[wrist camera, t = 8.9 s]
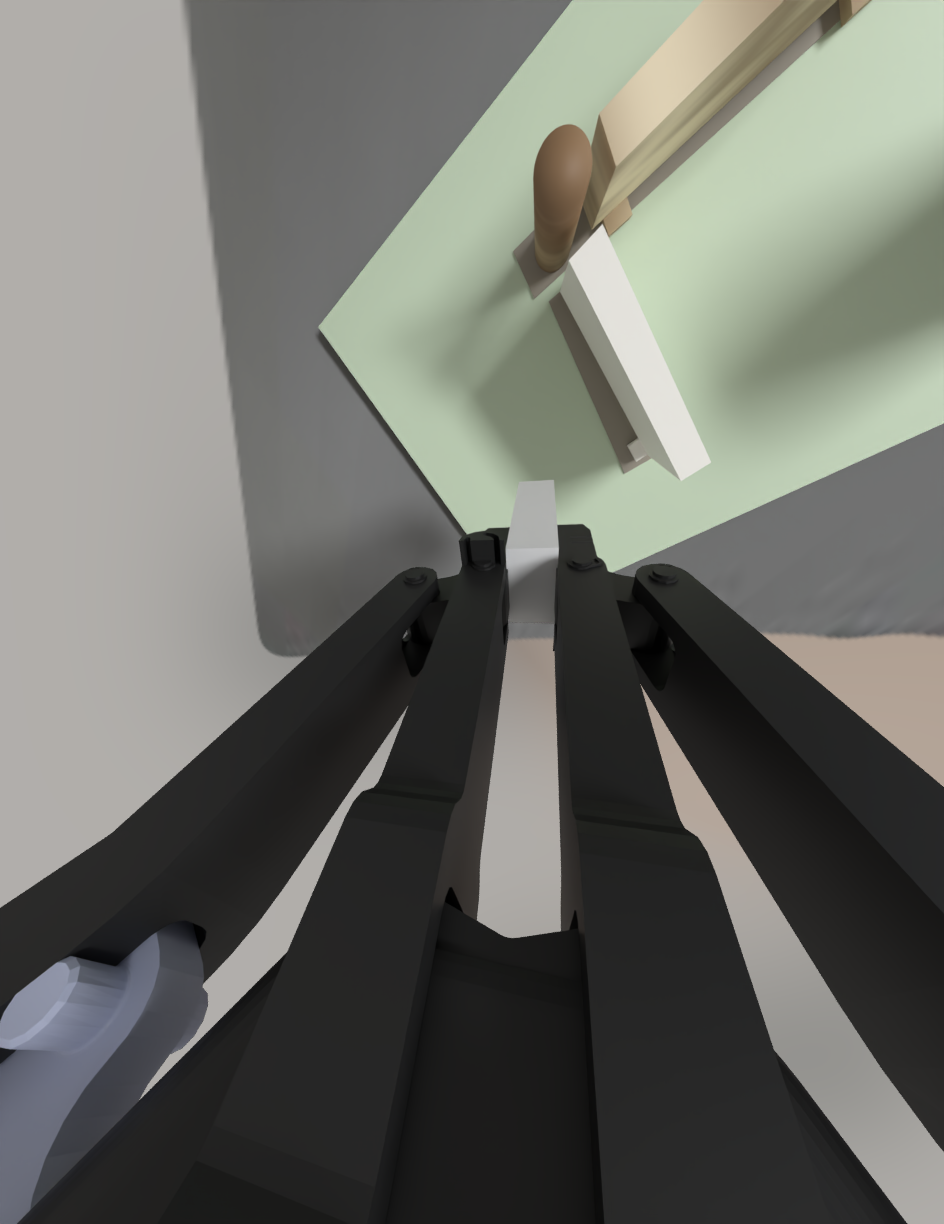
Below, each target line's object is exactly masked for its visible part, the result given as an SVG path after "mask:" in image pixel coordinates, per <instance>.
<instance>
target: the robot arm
mask: <svg viewBox="0 0 944 1224" xmlns="http://www.w3.org/2000/svg"><path fill="white" fill-rule="evenodd" d="M459 545H460V552H461V560H462V568H461V570H460V573H459V574H458V575H455V576H451V577H447V578H441V579H437V574H436V572H435V571H434V570H433V569H430V568H426V567H415V568H410V569H409V570H406V571H403V572H402V573H400V574H399V575H397V576H396V577H395V578H394V579H393V580H392V581H390V582H389V583H388V584H387V585H386V586H385V587H384V588H383V589H382V590H380V591H379V592H378V593H377V594H376V595H375V596H374V597H373V598H372V599H371V600H369V601H368V602H367V603H366V604H365V605H364V606H363V607H362V608H361V609H359V610H358V611H357V612H356V613H355V614H354V615H353V616H352V617H351V618H349V619H348V620H347V621H346V622H345V623H344V624H343V625H342V626H341V627H340V628H338V629H337V630H336V631H335V632H334V633H333V634H332V635H331V636H330V637H328V638H327V639H326V640H325V641H324V642H323V643H322V644H321V645H320V646H318V647H317V648H316V649H315V650H314V651H313V652H312V653H311V654H310V655H309V656H307V657H306V658H305V659H304V660H303V661H302V662H301V663H300V664H299V665H297V666H296V667H295V668H294V669H293V670H292V671H291V672H290V673H289V674H287V675H286V676H285V677H284V678H283V679H282V680H281V681H280V682H279V683H278V684H276V685H275V686H274V687H273V688H272V689H271V690H270V691H269V692H268V693H267V694H265V695H264V696H263V697H262V698H261V699H260V700H259V701H258V702H257V703H255V704H254V705H253V706H252V707H251V708H250V709H249V710H248V711H247V712H246V713H244V714H243V715H242V716H241V717H240V718H239V719H238V720H237V721H235V723H233V724H232V725H231V726H230V727H229V728H228V729H227V730H226V731H224V732H223V733H222V734H221V735H220V736H219V737H218V738H217V739H216V740H214V741H213V742H212V743H211V744H210V745H209V746H208V747H207V748H206V749H204V750H203V751H202V752H201V753H200V754H199V755H198V756H197V757H196V758H194V759H193V760H192V761H191V762H190V763H189V764H188V765H187V766H186V767H184V768H183V770H181V771H180V772H179V773H178V774H177V775H176V776H175V777H174V778H172V779H171V780H170V781H169V782H168V783H167V784H166V785H165V786H164V787H162V788H161V789H160V790H159V791H158V792H157V793H156V794H155V795H153V796H152V797H151V798H150V799H149V800H148V801H147V802H146V803H145V804H144V805H143V806H141V807H140V808H139V809H138V810H137V811H136V812H135V813H134V814H132V815H131V816H130V817H129V818H128V819H127V820H126V821H125V822H124V823H123V824H121V825H120V826H119V827H118V828H117V829H116V830H115V831H114V832H113V833H111V834H110V835H108V836H107V837H105V838H104V839H102V840H101V841H100V842H98V843H96V844H95V845H94V846H92V847H91V848H89V849H88V850H86V851H85V852H83V853H82V854H80V855H79V856H77V857H76V858H74V859H73V860H71V861H70V862H68V863H67V864H65V865H64V866H62V867H61V868H59V869H58V870H56V871H55V872H53V873H52V874H50V875H49V876H47V877H46V878H44V879H43V880H41V881H40V882H38V883H37V884H35V885H34V886H32V887H31V888H29V889H28V890H26V891H25V892H23V893H22V894H20V895H19V896H17V897H16V898H14V899H13V900H11V901H10V902H8V903H7V904H5V905H4V906H3V907H1V908H0V1224H907V1223H906V1221H905V1220H904V1219H903V1218H902V1216H901V1215H900V1214H899V1212H898V1211H897V1210H896V1208H895V1207H894V1206H893V1204H892V1203H891V1202H890V1200H889V1199H888V1198H887V1196H886V1195H885V1194H884V1192H883V1191H882V1190H881V1188H880V1187H879V1186H878V1185H877V1183H876V1182H875V1180H874V1179H873V1178H872V1177H871V1175H870V1174H869V1173H868V1171H867V1170H866V1169H865V1167H864V1166H863V1165H862V1163H861V1162H860V1161H859V1159H858V1158H857V1157H856V1155H855V1154H854V1153H853V1152H852V1150H851V1149H850V1147H849V1146H848V1145H847V1143H846V1142H845V1141H844V1140H843V1138H842V1137H841V1136H840V1134H839V1133H838V1132H837V1130H836V1129H835V1128H834V1126H833V1125H832V1124H831V1122H830V1121H829V1120H828V1118H827V1117H826V1116H825V1114H824V1113H823V1112H822V1110H821V1109H820V1108H819V1107H818V1105H817V1104H816V1103H815V1101H814V1100H813V1099H812V1097H811V1096H810V1095H809V1093H808V1092H807V1091H806V1089H805V1088H804V1087H803V1085H802V1084H801V1083H800V1081H799V1080H798V1079H797V1078H796V1076H795V1075H794V1074H793V1073H792V1071H791V1070H790V1069H789V1068H788V1066H787V1065H786V1064H785V1062H784V1061H783V1060H782V1059H781V1058H780V1057H779V1056H778V1054H777V1053H776V1052H775V1051H774V1049H773V1046H772V1043H771V1040H770V1037H769V1034H768V1031H767V1028H766V1025H765V1022H764V1018H763V1015H762V1012H761V1009H760V1006H759V1003H758V1000H757V997H756V994H755V991H754V988H753V985H752V982H751V979H750V976H749V973H748V970H747V967H746V964H745V961H744V958H743V954H742V952H741V948H740V945H739V942H738V939H737V936H736V933H735V930H734V927H733V924H732V921H731V918H730V915H729V912H728V909H727V906H726V903H725V900H724V897H723V894H722V891H721V887H720V884H719V882H718V878H717V875H716V873H715V870H714V868H713V865H712V863H711V860H710V858H709V855H708V853H707V851H706V849H705V848H704V846H703V845H702V843H701V841H700V840H699V838H698V837H697V836H695V835H694V834H692V833H691V832H689V831H688V830H686V829H685V828H684V826H683V824H682V823H681V821H680V818H679V815H678V813H677V810H676V806H675V803H674V800H673V796H672V793H671V789H670V786H669V782H668V778H667V775H666V772H665V768H664V765H663V761H662V758H661V754H660V751H659V747H658V744H657V740H656V737H655V734H654V730H653V727H652V723H651V719H650V716H649V713H648V709H647V706H646V702H645V699H644V695H643V692H642V688H641V686H642V687H643V689H644V690H645V692H646V693H647V695H648V697H649V698H650V700H651V702H652V703H653V705H654V707H655V708H656V710H657V711H658V713H659V715H660V716H661V718H662V719H663V721H664V723H665V724H666V726H667V727H668V729H669V731H670V732H671V734H672V735H673V737H674V739H675V740H676V742H677V743H678V745H679V747H680V748H681V750H682V752H683V753H684V755H685V756H686V758H687V760H688V761H689V763H690V765H691V766H692V767H693V769H694V771H695V772H696V774H697V776H698V777H699V779H700V780H701V782H702V784H703V786H704V787H705V788H706V790H707V792H708V794H709V795H710V797H711V798H712V800H713V802H714V803H715V805H716V807H717V808H718V810H719V811H720V813H721V815H722V816H723V818H724V819H725V821H726V823H727V824H728V826H729V827H730V829H731V830H732V832H733V834H734V835H735V837H736V839H737V840H738V842H739V844H740V845H741V847H742V848H743V850H744V852H745V853H746V855H747V856H748V858H749V860H750V861H751V863H752V864H753V866H754V868H755V869H756V871H757V873H758V874H759V876H760V877H761V879H762V881H763V882H764V884H765V886H766V887H767V889H768V890H769V892H770V893H771V895H772V897H773V898H774V900H775V902H776V903H777V905H778V906H779V908H780V910H781V911H782V913H783V915H784V916H785V918H786V919H787V921H788V923H789V924H790V926H791V927H792V929H793V931H794V932H795V934H796V936H797V937H798V938H799V940H800V942H801V944H802V945H803V947H804V948H805V950H806V952H807V953H808V955H809V956H810V958H811V960H812V961H813V963H814V964H815V966H816V968H817V969H818V971H819V973H820V974H821V976H822V977H823V979H824V981H825V982H826V984H827V986H828V987H829V989H830V990H831V992H832V994H833V995H834V997H835V998H836V1000H837V1002H838V1003H839V1005H840V1006H841V1008H842V1009H843V1011H844V1012H845V1014H846V1015H847V1017H848V1018H849V1020H850V1021H851V1023H852V1024H853V1026H854V1028H855V1029H856V1030H857V1032H858V1034H859V1035H860V1037H861V1038H862V1040H863V1041H864V1043H865V1044H866V1046H867V1047H868V1049H869V1050H870V1052H871V1053H872V1055H873V1056H874V1058H875V1059H876V1061H877V1062H878V1064H879V1065H880V1067H881V1068H882V1070H883V1071H884V1072H885V1074H886V1075H887V1076H888V1078H889V1079H890V1081H891V1082H892V1083H893V1084H894V1086H895V1087H896V1088H897V1090H898V1091H899V1093H900V1094H901V1095H902V1097H903V1098H904V1099H905V1101H906V1102H907V1103H908V1105H909V1106H910V1108H911V1109H912V1110H913V1112H914V1113H915V1114H916V1116H917V1117H918V1118H919V1120H920V1121H921V1122H922V1124H923V1125H924V1127H925V1128H926V1129H927V1131H928V1132H929V1133H930V1135H931V1136H932V1137H933V1139H934V1140H935V1142H936V1143H937V1144H938V1145H939V1147H940V1148H941V1149H942V1150H943V1151H944V787H943V786H942V785H940V784H939V783H938V782H937V781H936V780H935V779H933V778H932V777H931V776H930V775H929V774H928V773H926V772H925V771H924V770H923V769H922V768H920V767H919V766H918V765H917V764H915V763H914V762H913V761H912V760H911V759H910V758H908V757H907V756H906V755H905V754H904V753H903V752H901V751H900V750H899V749H898V748H897V747H895V746H894V745H893V744H892V743H891V742H889V741H888V740H887V739H886V738H885V737H883V736H882V735H881V734H880V733H879V732H877V731H876V730H875V729H874V728H872V726H870V725H869V724H868V723H867V722H866V721H864V720H863V719H862V718H861V717H860V716H858V715H857V714H856V713H855V712H854V711H852V710H851V709H850V708H849V707H847V705H845V704H844V703H843V702H842V701H841V700H839V699H838V698H837V697H836V696H835V695H833V694H832V693H831V692H830V691H828V690H827V689H826V688H825V687H824V686H823V685H822V684H820V683H819V682H818V681H817V680H816V679H814V678H813V677H812V676H811V675H810V674H808V673H807V672H806V671H805V670H804V669H802V668H801V667H800V666H799V665H798V664H796V663H795V662H794V661H793V660H792V659H791V658H789V657H788V656H787V655H786V654H785V653H783V652H782V651H781V650H780V649H779V648H777V647H776V646H775V645H774V644H772V643H771V642H770V641H769V640H768V639H767V638H766V637H764V636H763V635H762V634H761V633H760V632H758V631H757V630H756V629H755V628H754V627H752V626H751V625H750V624H749V623H748V622H746V621H745V620H744V619H743V618H742V617H740V616H739V615H738V614H737V613H736V612H735V611H733V610H732V609H731V608H730V607H729V606H727V605H726V604H725V603H724V602H723V601H721V600H720V599H719V598H718V597H717V596H715V595H714V594H713V593H712V592H711V591H710V590H708V589H707V588H706V587H705V586H704V585H702V584H701V583H700V582H699V581H698V580H696V579H695V578H694V577H693V576H692V575H690V574H689V573H688V572H686V571H684V570H683V569H681V568H678V567H675V566H673V565H669V564H666V565H665V564H650V565H646V566H642V567H641V568H639V569H637V571H636V574H635V577H629V576H623V575H618V574H615V573H612V572H609V571H608V570H607V566H606V564H605V562H604V561H603V560H602V559H601V558H599V557H597V554H596V550H595V546H594V543H593V539H592V535H591V531H590V529H589V528H587V527H586V526H585V525H583V524H567V525H557V516H556V503H555V489H554V480H542V481H524V482H519V484H518V489H517V494H516V499H515V504H514V509H513V514H512V519H511V524H510V527H505V528H488V529H487V530H485V531H479V532H473V533H470V534H467V535H465V536H463V537H462V538H461V539H460V540H459ZM508 616H509V622H512V623H552V624H555V625H554V645H553V651H555V679H556V714H557V747H558V778H559V779H558V780H559V811H560V843H561V844H560V847H561V931H560V932H553V933H547V934H540V935H533V936H527V937H520V938H507V937H504V936H502V935H500V934H498V933H497V932H495V931H493V930H492V929H490V928H488V927H486V926H485V925H483V924H481V923H480V922H478V921H477V911H478V902H479V883H480V880H479V878H480V873H479V872H480V857H481V848H482V840H483V833H484V825H485V817H486V809H487V801H488V793H489V784H490V777H491V768H492V761H493V753H494V745H495V737H496V728H497V720H498V712H499V705H500V697H501V689H502V681H503V673H504V664H505V656H506V649H507V641H508V633H509V630H508ZM406 630H407V633H408V634H407V635H406V637H405V638H404V639H403V636H404V634H405V632H406ZM640 684H641V685H640ZM407 706H408V708H407ZM406 708H407V710H406V713H405V716H404V718H403V721H402V724H401V726H400V729H399V731H398V734H397V736H396V739H395V742H394V744H393V747H392V749H391V752H390V755H389V757H388V760H387V762H386V765H385V768H384V770H383V773H382V776H381V777H380V779H379V782H378V783H377V784H376V785H375V787H374V788H371V789H369V790H366V791H363V792H361V793H360V795H359V796H358V797H357V798H356V799H355V800H354V802H353V803H352V805H351V807H350V809H349V811H348V813H347V815H346V817H345V819H344V821H343V824H342V826H341V828H340V830H339V833H338V835H337V838H336V840H335V842H334V844H333V847H332V849H331V852H330V854H329V856H328V858H327V861H326V863H325V865H324V868H323V870H322V872H321V875H320V877H319V879H318V882H317V884H316V886H315V889H314V891H313V893H312V896H311V898H310V901H309V903H308V905H307V907H306V910H305V912H304V914H303V917H302V919H301V922H300V924H299V926H298V928H297V931H296V933H295V935H294V938H293V940H292V942H291V945H290V947H289V950H288V952H287V953H286V954H285V955H284V956H283V957H282V958H281V959H280V960H279V961H278V962H277V963H276V964H275V965H274V966H273V967H272V968H271V969H270V970H269V971H268V972H267V973H266V974H265V975H264V976H263V977H262V978H261V979H260V980H259V981H258V982H257V983H256V984H255V985H254V986H253V987H252V988H251V989H250V990H249V991H248V992H247V993H246V994H245V995H244V996H243V997H242V998H241V999H240V1000H239V1001H238V1002H237V1003H236V1004H235V1005H234V1006H233V1007H232V1008H231V1009H230V1010H229V1011H228V1012H227V1013H226V1014H225V1015H224V1016H223V1017H222V1018H221V1019H220V1020H219V1021H218V1022H217V1023H216V1024H215V1025H214V1026H213V1027H212V1028H211V1029H210V1030H209V1031H208V1032H207V1033H206V1034H205V1035H204V1036H203V1037H202V1038H201V1039H200V1040H199V1041H198V1042H197V1043H196V1044H195V1045H194V1046H193V1047H192V1048H191V1049H190V1050H189V1051H188V1052H187V1053H186V1054H185V1055H184V1056H183V1057H182V1058H181V1059H180V1060H179V1061H178V1062H177V1063H176V1064H175V1065H174V1066H173V1067H172V1068H171V1069H170V1070H169V1071H168V1072H167V1073H166V1074H165V1075H164V1076H163V1077H162V1079H160V1080H159V1081H158V1082H157V1083H156V1084H155V1085H154V1086H153V1087H152V1089H150V1091H148V1092H147V1093H146V1094H145V1095H144V1096H143V1097H142V1098H141V1099H140V1097H141V1095H142V1094H143V1092H144V1090H145V1088H146V1087H147V1085H148V1083H149V1082H150V1081H151V1079H152V1078H153V1077H154V1075H155V1074H156V1073H157V1071H158V1070H159V1068H160V1067H161V1066H162V1064H163V1063H164V1062H165V1060H166V1059H167V1058H168V1056H169V1055H170V1054H172V1053H174V1052H176V1051H178V1050H180V1049H182V1048H183V1047H184V1046H185V1045H186V1044H187V1043H188V1042H189V1041H190V1040H191V1039H192V1038H193V1037H194V1035H195V1034H196V1032H197V1030H198V1028H199V1027H200V1025H201V1024H202V1022H203V1019H204V1016H205V1013H206V1010H207V1007H208V994H207V992H206V991H205V990H204V988H203V987H202V986H203V983H204V982H205V981H206V980H207V979H208V978H209V977H210V976H211V975H212V974H213V973H214V972H215V971H216V970H217V969H218V968H219V967H220V966H221V965H222V963H224V961H225V960H226V959H227V958H228V957H229V956H230V955H231V954H232V953H233V952H234V950H235V949H236V948H237V947H238V946H239V945H240V943H241V942H242V941H243V940H244V939H245V937H246V936H247V935H248V934H249V933H250V931H251V930H252V929H253V928H254V927H255V926H256V924H257V923H258V922H259V921H260V919H261V918H262V917H263V915H264V914H265V913H266V911H267V910H268V908H269V907H270V906H271V904H272V903H273V901H274V900H275V899H276V897H277V896H278V895H279V893H280V892H281V891H282V889H283V888H284V887H285V885H286V884H287V882H288V881H289V879H290V878H291V876H292V875H293V873H294V872H295V870H296V869H297V868H298V866H299V865H300V863H301V862H302V860H303V859H304V857H305V856H306V854H307V853H308V851H309V850H310V848H311V847H312V846H313V844H314V842H315V841H316V840H317V838H318V837H319V835H320V834H321V832H322V831H323V829H324V828H325V826H326V825H327V823H328V822H329V821H330V819H331V817H332V816H333V815H334V813H335V812H336V810H337V809H338V807H339V806H340V804H341V803H342V801H343V800H344V799H345V797H346V796H347V794H348V793H349V791H350V790H351V788H352V787H353V785H354V784H355V783H356V781H357V780H358V778H359V777H360V775H361V774H362V772H363V770H364V769H365V768H366V766H367V765H368V764H369V762H370V761H371V759H372V758H373V756H374V755H375V753H376V752H377V750H378V748H379V747H380V746H381V744H382V743H383V742H384V740H385V738H386V737H387V735H388V734H389V733H390V731H391V730H392V728H393V727H394V725H395V724H396V722H397V721H398V720H399V718H400V716H401V715H402V714H403V712H404V711H405V709H406ZM139 1099H140V1100H139Z"/></svg>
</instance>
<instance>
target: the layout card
mask: <svg viewBox="0 0 944 1224" xmlns="http://www.w3.org/2000/svg"><path fill="white" fill-rule="evenodd" d="M702 1H703V0H572V2H571V3H570V4H569V6H568V7H567V8H566V9H565V11H564V12H563V13H562V15H561V16H560V17H559V18H558V20H557V21H556V22H555V24H554V25H553V26H552V27H551V29H550V30H549V31H548V33H547V34H546V35H545V36H544V38H543V39H542V40H541V42H540V43H539V44H538V45H537V47H536V48H535V49H534V51H533V52H532V53H531V54H530V56H529V57H528V58H527V60H526V61H525V62H524V63H523V65H522V66H521V67H520V69H519V70H518V71H517V72H516V74H515V75H514V76H513V78H512V79H511V80H510V81H509V83H508V84H507V85H506V87H505V88H504V89H503V90H502V92H501V93H500V94H499V96H498V97H497V98H496V99H495V101H494V102H493V103H492V105H491V106H490V107H489V108H488V110H487V111H486V112H485V114H484V115H483V116H482V117H481V119H480V120H479V121H478V123H477V124H476V125H475V126H474V128H473V129H472V130H471V132H470V133H469V134H468V135H467V137H466V138H465V139H464V141H463V142H462V143H461V144H460V146H459V147H458V148H457V150H456V151H455V152H454V153H453V155H452V156H451V157H450V159H449V160H448V161H447V162H446V164H445V165H444V166H443V168H442V169H441V170H440V171H439V173H438V174H437V175H436V177H435V178H434V179H433V180H432V182H431V183H430V184H429V186H428V187H427V188H426V189H425V191H424V192H423V193H422V195H421V196H420V197H419V198H418V200H417V201H416V202H415V204H414V205H413V206H412V207H411V209H410V210H409V211H408V213H407V214H406V215H405V216H404V218H403V219H402V220H401V222H400V223H399V224H398V225H397V227H396V228H395V229H394V231H393V232H392V233H391V234H390V236H389V237H388V238H387V240H386V241H385V242H384V243H383V245H382V246H381V247H380V249H379V250H378V251H377V252H376V254H375V255H374V256H373V258H372V259H371V260H370V261H369V263H368V264H367V265H366V267H365V268H364V269H363V270H362V272H361V273H360V274H359V276H358V277H357V278H356V279H355V281H354V282H353V283H352V285H351V286H350V287H349V288H348V290H347V291H346V292H345V294H344V295H343V296H342V297H341V299H340V300H339V301H338V302H337V304H336V305H335V306H334V308H333V309H332V310H331V311H330V313H329V314H328V315H327V317H326V318H325V319H324V320H323V322H322V323H321V324H320V326H319V329H320V330H321V332H322V333H323V334H324V336H325V337H326V338H327V340H328V341H329V343H330V344H331V345H332V347H333V348H334V350H335V351H336V352H337V354H338V355H339V357H340V358H341V359H342V361H343V362H344V364H345V365H346V366H347V368H348V369H349V371H350V372H351V373H352V375H353V376H354V378H355V379H356V380H357V382H358V383H359V385H360V386H361V387H362V389H363V390H364V391H365V393H366V394H367V396H368V397H369V398H370V400H371V401H372V403H373V404H374V405H375V407H376V408H377V410H378V411H379V412H380V414H381V415H382V417H383V418H384V419H385V421H386V422H387V424H388V425H389V426H390V428H391V429H392V431H393V432H394V433H395V435H396V436H397V438H398V439H399V440H400V442H401V443H402V444H403V446H404V447H405V449H406V450H407V451H408V453H409V454H410V456H411V457H412V458H413V460H414V461H415V463H416V464H417V465H418V467H419V468H420V470H421V471H422V472H423V474H424V475H425V477H426V478H427V479H428V481H429V482H430V484H431V485H432V486H433V488H434V489H435V491H436V492H437V493H438V495H439V496H440V497H441V499H442V500H443V502H444V503H445V504H446V506H447V507H448V509H449V510H450V511H451V513H452V514H453V516H454V517H455V518H456V520H457V521H458V523H459V524H460V525H461V527H462V528H463V530H464V531H465V532H466V534H470V533H473V532H479V531H485V530H487V529H488V528H505V527H510V524H511V519H512V514H513V509H514V504H515V499H516V494H517V489H518V484H519V482H524V481H542V480H554V489H555V503H556V516H557V525H567V524H583V525H585V526H586V527H587V528H589V529H590V531H591V535H592V539H593V543H594V546H595V550H596V554H597V557H599V558H601V559H602V560H603V561H604V562H605V564H606V566H607V570H608V571H609V572H615V571H617V570H619V569H621V568H623V567H626V566H628V565H630V564H632V563H635V562H637V561H639V560H641V559H643V558H646V557H648V556H650V555H652V554H655V553H657V552H659V551H661V550H663V549H666V548H668V547H670V546H672V545H674V544H677V543H679V542H681V541H683V540H686V539H688V538H690V537H692V536H694V535H697V534H699V533H701V532H703V531H706V530H708V529H710V528H712V527H714V526H717V525H719V524H721V523H723V522H726V521H728V520H730V519H732V518H734V517H737V516H739V515H741V514H743V513H746V512H748V511H750V510H752V509H754V508H757V507H759V506H761V505H763V504H765V503H768V502H770V501H772V500H774V499H777V498H779V497H781V496H783V495H785V494H788V493H790V492H792V491H794V490H797V489H799V488H801V487H803V486H805V485H808V484H810V483H812V482H814V481H817V480H819V479H821V478H823V477H825V476H828V475H830V474H832V473H834V472H837V471H839V470H841V469H843V468H845V467H848V466H850V465H852V464H854V463H856V462H859V461H861V460H863V459H865V458H868V457H870V456H872V455H874V454H876V453H879V452H881V451H883V450H885V449H888V448H890V447H892V446H894V445H896V444H899V443H901V442H903V441H905V440H908V439H910V438H912V437H914V436H916V435H919V434H921V433H923V432H925V431H927V430H930V429H932V428H934V427H936V426H939V425H941V424H943V423H944V0H872V1H870V2H869V3H868V4H867V5H866V6H865V7H864V8H863V9H862V10H860V11H859V12H858V13H857V14H856V15H855V16H854V17H853V18H852V19H850V20H849V21H848V22H847V23H846V24H845V25H844V26H843V27H842V28H841V19H840V8H839V0H837V1H836V2H835V3H834V4H833V5H832V6H831V7H830V8H828V9H827V10H826V11H825V12H824V13H823V14H822V15H821V16H820V17H819V18H818V19H817V20H816V21H815V22H813V23H812V24H811V25H810V26H809V27H808V28H807V29H806V30H805V31H804V32H803V33H802V34H801V35H800V36H799V37H797V38H796V39H795V40H794V41H793V42H792V43H791V44H790V45H789V46H788V47H787V48H786V49H785V50H784V51H782V52H781V53H780V54H779V55H778V56H777V57H776V58H775V59H774V60H773V61H772V62H771V63H770V64H769V65H767V66H766V67H765V68H764V69H763V70H762V71H761V72H760V73H759V74H758V75H757V76H756V77H755V78H754V79H753V80H751V81H750V82H749V83H748V84H747V85H746V86H745V87H744V88H743V89H742V90H741V91H740V92H739V93H738V94H736V95H735V96H734V97H733V98H732V99H731V100H730V101H729V102H728V103H727V104H726V105H725V106H724V107H723V108H722V109H720V110H719V111H718V112H717V113H716V114H715V115H714V116H713V117H712V118H711V119H710V120H709V121H708V122H707V123H705V124H704V125H703V126H702V127H701V128H700V129H699V130H698V131H697V132H696V133H695V134H694V135H693V136H692V137H691V138H689V139H688V140H687V141H686V142H685V143H684V144H683V145H682V146H681V147H680V148H679V149H678V150H677V151H676V152H674V153H673V154H672V155H671V156H670V157H669V158H668V159H667V160H666V161H665V162H664V163H663V164H662V165H661V166H659V167H658V168H657V169H656V170H655V171H654V172H653V173H652V174H651V175H650V176H649V177H648V178H647V179H646V180H645V181H643V182H642V183H641V184H640V185H639V186H638V187H637V188H636V189H635V190H634V191H633V192H632V193H631V194H630V195H628V196H627V198H628V202H629V205H630V208H631V211H632V216H631V218H630V219H629V220H628V221H627V222H626V223H625V224H623V225H622V226H621V227H620V228H619V229H618V230H617V231H616V232H615V233H614V234H612V235H611V236H610V237H609V239H610V241H611V244H612V246H613V248H614V250H615V252H616V255H617V257H618V259H619V261H620V263H621V266H622V268H623V270H624V272H625V274H626V276H627V279H628V281H629V283H630V285H631V287H632V290H633V292H634V294H635V296H636V298H637V301H638V303H639V305H640V307H641V309H642V312H643V314H644V316H645V318H646V320H647V322H648V325H649V327H650V329H651V331H652V333H653V336H654V338H655V340H656V342H657V344H658V347H659V349H660V351H661V353H662V355H663V358H664V360H665V362H666V364H667V366H668V368H669V371H670V373H671V375H672V377H673V379H674V382H675V384H676V386H677V388H678V390H679V393H680V395H681V397H682V399H683V401H684V404H685V406H686V408H687V410H688V412H689V415H690V417H691V419H692V421H693V423H694V425H695V428H696V430H697V432H698V434H699V436H700V439H701V441H702V443H703V445H704V447H705V450H706V452H707V454H708V456H709V458H710V461H711V463H710V464H708V465H706V466H705V467H703V468H701V469H700V470H698V471H697V472H695V473H693V474H692V475H690V476H688V477H687V478H685V479H684V480H682V481H680V480H679V479H678V478H676V477H675V476H674V475H672V474H671V473H670V472H669V471H667V470H666V469H665V468H664V467H662V466H661V465H660V464H658V463H657V462H656V461H655V460H653V459H652V458H651V457H649V456H648V455H646V456H644V457H643V458H641V459H640V460H638V461H637V462H636V461H635V460H634V458H633V456H632V454H631V452H630V450H629V449H628V447H627V445H628V444H630V443H631V442H632V441H634V440H635V439H637V438H638V437H637V435H636V433H635V431H634V429H633V427H632V426H631V424H630V422H629V420H628V418H627V416H626V414H625V413H624V411H623V409H622V407H621V405H620V403H619V401H618V399H617V398H616V396H615V394H614V392H613V390H612V388H611V386H610V384H609V383H608V381H607V379H606V377H605V375H604V373H603V371H602V369H601V368H600V366H599V364H598V362H597V360H596V358H595V356H594V355H593V353H592V351H591V349H590V347H589V345H588V343H587V341H586V340H585V338H584V336H583V334H582V332H581V330H580V328H579V326H578V325H577V323H576V321H575V319H574V317H573V315H572V313H571V311H570V310H569V308H568V306H567V304H566V302H565V300H564V298H563V297H562V295H561V293H560V289H561V286H562V282H563V279H564V275H565V272H566V268H567V265H568V261H569V260H570V258H571V257H572V256H573V255H574V254H575V253H576V252H577V251H578V250H579V249H580V248H581V247H582V246H583V244H584V243H585V242H586V241H587V240H588V239H589V238H590V237H591V236H592V235H593V234H594V233H595V232H596V230H597V229H598V228H599V227H600V226H601V225H602V224H601V222H600V223H599V224H597V225H596V226H595V227H594V228H593V229H591V227H590V224H589V221H588V218H587V216H586V213H585V210H584V207H583V206H582V210H581V213H580V217H579V221H578V224H577V228H576V232H575V235H574V239H573V243H572V246H571V250H570V253H569V256H568V259H567V261H566V262H565V264H564V265H563V266H562V267H561V268H560V269H559V270H557V271H555V272H551V273H549V272H545V271H543V270H542V269H541V268H540V267H539V266H538V264H537V261H536V258H535V234H534V193H533V172H534V165H535V161H536V157H537V154H538V152H539V149H540V147H541V145H542V143H543V142H544V140H545V139H546V138H547V136H548V135H549V134H550V133H551V132H552V131H553V130H555V129H556V128H558V127H559V126H562V125H566V124H572V125H575V126H577V127H579V128H580V129H582V130H583V132H584V133H585V134H586V136H587V138H588V140H589V142H590V146H591V145H592V141H593V137H594V133H595V129H596V124H597V120H598V116H599V113H600V112H601V111H602V110H603V109H604V107H605V106H606V105H607V104H608V103H609V102H610V101H611V100H612V99H613V98H614V97H615V96H616V94H617V93H618V92H619V91H620V90H621V89H622V88H623V87H624V86H625V85H626V84H627V83H628V81H629V80H630V79H631V78H632V77H633V76H634V75H635V74H636V73H637V72H638V71H639V70H640V68H641V67H642V66H643V65H644V64H645V63H646V62H647V61H648V60H649V59H650V58H651V57H652V55H653V54H654V53H655V52H656V51H657V50H658V49H659V48H660V47H661V46H662V45H663V43H664V42H665V41H666V40H667V39H668V38H669V37H670V36H671V35H672V34H673V33H674V32H675V30H676V29H677V28H678V27H679V26H680V25H681V24H682V23H683V22H684V21H685V20H686V19H687V17H688V16H689V15H690V14H691V13H692V12H693V11H694V10H695V9H696V8H697V7H698V6H699V4H700V3H701V2H702Z"/></svg>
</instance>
